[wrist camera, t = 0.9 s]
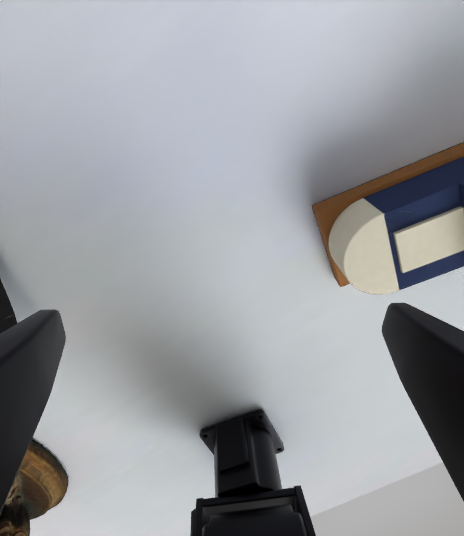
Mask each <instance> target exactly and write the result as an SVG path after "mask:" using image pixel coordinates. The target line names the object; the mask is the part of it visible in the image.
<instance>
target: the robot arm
mask: <svg viewBox="0 0 464 536" xmlns="http://www.w3.org/2000/svg"><path fill="white" fill-rule="evenodd" d="M382 334H383V337H384V340H385V342H386V345H387V347H388V350H389V352H390V355H391V357H392V360H393V362H394V365H395V368H396V370H397V373H398V375H399V377H400V380H401V382H402V384H403V386H404V388H405V390H406V392H407V394H408V396H409V398H410V400H411V402H412V403H413V405H414V407H415V409H416V411H417V413H418V415H419V417H420V419H421V421H422V423H423V425H424V426H425V428H426V430H427V432H428V434H429V436H430V438H431V440H432V442H433V444H434V446H435V447H436V449H437V451H438V453H439V455H440V457H441V459H442V461H443V463H444V465H445V466H446V468H447V470H448V472H449V474H450V476H451V478H452V480H453V482H454V484H455V486H456V488H457V489H458V491H459V493H460V495H461V497H462V499H463V501H464V331H462V330H460V329H458V328H456V327H454V326H452V325H450V324H448V323H446V322H443V321H441V320H439V319H437V318H435V317H433V316H431V315H429V314H427V313H425V312H423V311H421V310H419V309H417V308H415V307H413V306H411V305H409V304H406V303H391V304H390V305H389V306H388V308H387V312H386V315H385V318H384V321H383V325H382ZM65 340H66V336H65V331H64V327H63V323H62V319H61V316H60V313H59V311H57V310H40V311H38V312H36V313H35V314H33V315H31V316H29V317H28V318H26V319H24V320H23V321H21V322H19V323H17V324H16V325H14V326H12V327H11V328H9V329H7V330H5V331H4V332H2V333H0V514H1V511H2V509H3V507H4V504H5V502H6V499H7V497H8V495H9V492H10V490H11V487H12V485H13V483H14V480H15V478H16V475H17V473H18V471H19V468H20V466H21V464H22V461H23V459H24V456H25V454H26V452H27V449H28V447H29V444H30V442H31V440H32V437H33V435H34V432H35V430H36V428H37V425H38V423H39V421H40V418H41V416H42V413H43V411H44V409H45V406H46V404H47V401H48V399H49V396H50V393H51V390H52V387H53V383H54V380H55V376H56V373H57V370H58V366H59V363H60V359H61V356H62V352H63V349H64V345H65ZM200 437H201V439H202V440H203V441H204V443H205V444H206V445H207V447H208V448H209V449H210V450H211V452H212V453H213V454H214V468H215V498H208V499H203V498H198V499H197V500H196V509H194V510H193V511H192V512H191V535H190V536H316V535H315V532H314V528H313V525H312V522H311V519H310V515H309V512H308V508H307V505H306V502H305V499H304V495H303V492H302V489H301V486H294V488H287V489H282V485H281V480H280V475H279V470H278V465H277V460H276V454H277V453H280V452H282V451H284V447H283V443H282V442H281V440H280V438H279V437H278V435H277V433H276V431H275V430H274V428H273V426H272V424H271V423H270V421H269V419H268V418H267V416H266V414H265V412H264V411H262V410H257V411H254V412H251V413H248V414H245V415H242V416H239V417H237V418H234V419H231V420H228V421H225V422H222V423H219V424H216V425H213V426H210V427H207V428H205V429H202V430H201V431H200Z"/></svg>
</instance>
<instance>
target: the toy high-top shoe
mask: <svg viewBox="0 0 464 536" xmlns="http://www.w3.org/2000/svg"><path fill="white" fill-rule="evenodd" d="M312 208H313V211H314V214H315V217H316V220H317V223H318V227H319V230H320V233H321V236H322V239H323V242H324V246H325V249H326V252H327V255H328V258H329V261H330V264H331V268H332V271H333V274H334V277H335V279H336V281H337V282H338V284H339V286H340V287H342V286H345V285H347V284H351V285H352V286H354V287H355V288H356V289H358V290H360V291H362V292H365V293H369V294H388V293H393V292H396V291H399V290H401V289H404V288H407V287H409V286H412V285H415V284H417V283H420V282H423V281H425V280H428V279H431V278H434V277H436V276H439V275H442V274H444V273H447V272H450V271H452V270H455V269H458V268H460V267H463V266H464V142H463V143H461V144H459V145H456V146H454V147H451V148H449V149H447V150H444V151H442V152H439V153H437V154H435V155H432V156H430V157H427V158H425V159H423V160H420V161H418V162H415V163H413V164H411V165H408V166H406V167H403V168H401V169H399V170H396V171H394V172H391V173H389V174H387V175H384V176H382V177H379V178H377V179H375V180H372V181H370V182H367V183H365V184H363V185H360V186H358V187H356V188H353V189H351V190H348V191H346V192H344V193H341V194H339V195H336V196H334V197H332V198H329V199H327V200H324V201H322V202H320V203H317V204H315V205H313V206H312Z"/></svg>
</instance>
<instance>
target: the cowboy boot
mask: <svg viewBox="0 0 464 536" xmlns="http://www.w3.org/2000/svg"><path fill="white" fill-rule="evenodd" d="M16 324H17V321H16V317H15V314H14V311H13V308H12V306H11V303H10V301H9V298H8V296H7V294H6V291H5V289H4V286H3V284H2V282H1V279H0V333H2V332H4V331H5V330H7V329H9V328H11V327H12V326H14V325H16Z"/></svg>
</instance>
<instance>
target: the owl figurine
mask: <svg viewBox="0 0 464 536" xmlns="http://www.w3.org/2000/svg"><path fill="white" fill-rule="evenodd" d="M67 486H68V476H67V474H66V472H65V470H64V469H63V467H62V465H61V464H60V463H59V462H58V461H57V460H56V459H55V458H54V457H53V456H52V455H51V454H50V453H49V452H48V451H47V450H45V449H44V448H43V447H41V446H40V445H38V444H37V443H35V442H33V441H32V440H31V442H30V444H29V447H28V449H27V452H26V454H25V456H24V459H23V461H22V464H21V466H20V468H19V471H18V473H17V475H16V478H15V480H14V483H13V485H12V487H11V490H10V492H9V495H8V497H7V499H6V502H5V504H4V507H3V509H2V511H1V514H0V536H29V534H30V520H31V519H34V518H37V517H39V516H41V515H43V514H45V513H46V512H47V511H48V510H49V509H50V508H53V507H55V506H56V505H57V504H59V503H60V502H61V501H62V499H63V497H64V495H65V493H66V491H67Z"/></svg>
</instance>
